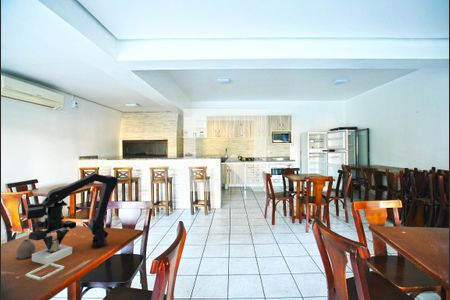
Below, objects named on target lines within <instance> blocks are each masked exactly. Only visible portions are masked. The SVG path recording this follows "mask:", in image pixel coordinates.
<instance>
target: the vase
mask: <svg viewBox="0 0 450 300" xmlns="http://www.w3.org/2000/svg"><path fill="white" fill-rule="evenodd" d="M36 251H37V250H36V244H35V243H34V242H33V240H31V239H29V238H27V239H24V240H23V241H22V243H20V245H19V246H18V247H17V249H16V257H17V258H18V259H19V260H26V259H30V258H32V254H33V253H36Z"/></svg>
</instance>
